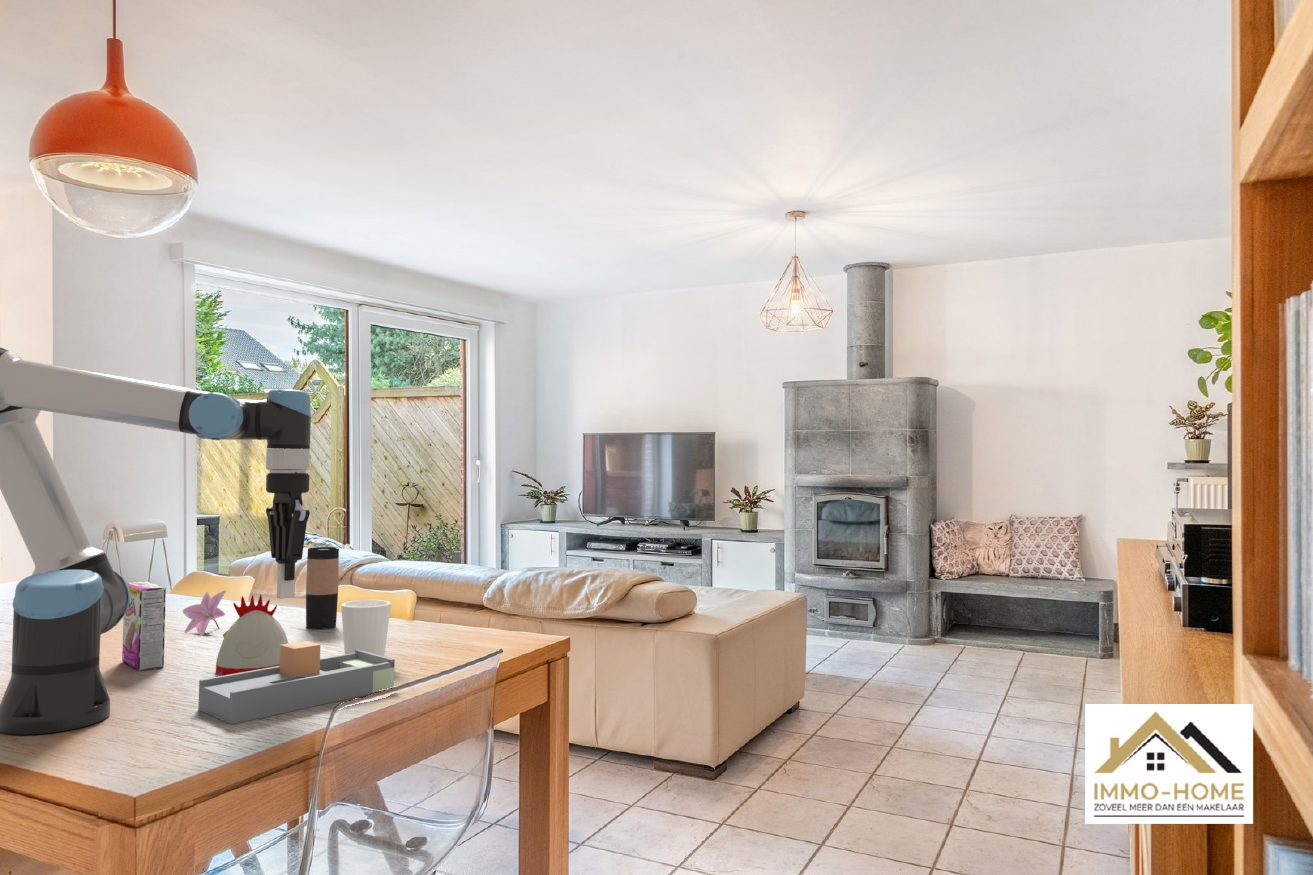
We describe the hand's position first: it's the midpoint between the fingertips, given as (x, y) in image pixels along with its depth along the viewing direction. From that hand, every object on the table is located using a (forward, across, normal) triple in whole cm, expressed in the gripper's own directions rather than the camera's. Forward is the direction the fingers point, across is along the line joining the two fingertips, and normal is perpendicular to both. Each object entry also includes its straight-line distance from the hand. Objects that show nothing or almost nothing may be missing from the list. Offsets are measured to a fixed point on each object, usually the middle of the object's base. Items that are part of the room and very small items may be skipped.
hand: (285, 597), depth 161 cm
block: (+13, -7, 0) cm, 15 cm away
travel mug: (+17, +51, -33) cm, 63 cm away
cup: (+17, +6, -20) cm, 27 cm away
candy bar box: (+17, +37, +12) cm, 42 cm away
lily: (+17, +64, -10) cm, 67 cm away
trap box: (+17, -10, +1) cm, 19 cm away
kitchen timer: (+17, +18, -2) cm, 25 cm away
